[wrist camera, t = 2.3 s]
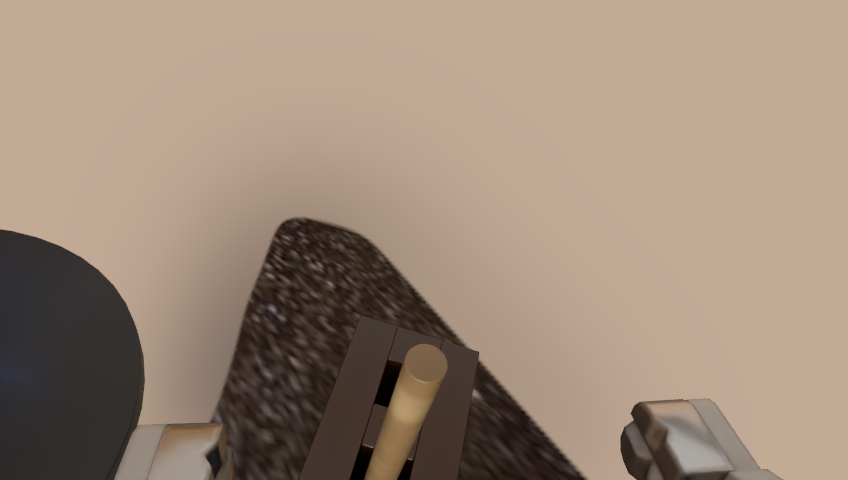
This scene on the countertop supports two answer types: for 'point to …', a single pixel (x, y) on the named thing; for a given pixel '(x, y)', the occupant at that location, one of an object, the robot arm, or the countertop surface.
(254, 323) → the countertop surface
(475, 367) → the utensil block
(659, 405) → the robot arm
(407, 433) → the stirring stick
